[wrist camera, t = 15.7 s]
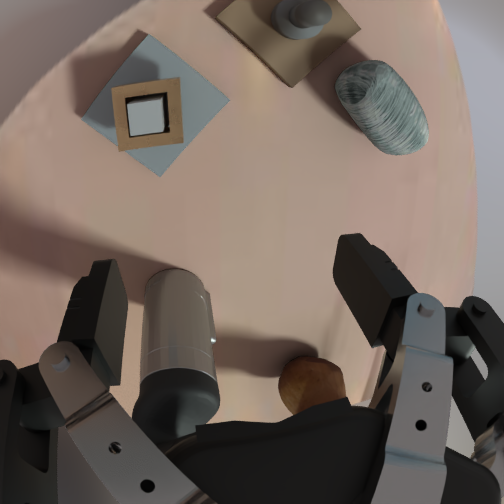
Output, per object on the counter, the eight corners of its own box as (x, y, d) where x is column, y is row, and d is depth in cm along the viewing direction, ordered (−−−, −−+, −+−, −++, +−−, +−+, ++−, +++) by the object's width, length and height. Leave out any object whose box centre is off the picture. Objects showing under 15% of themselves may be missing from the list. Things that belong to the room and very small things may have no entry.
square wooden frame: (180, 76, 27) (179, 78, 25) (183, 135, 31) (183, 143, 28) (117, 85, 26) (111, 87, 24) (124, 143, 30) (118, 151, 27)
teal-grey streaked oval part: (310, 93, 31) (393, 96, 24) (341, 46, 32) (414, 44, 25) (356, 164, 41) (421, 179, 34) (378, 117, 42) (439, 125, 35)
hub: (228, 98, 33) (240, 109, 26) (160, 172, 36) (155, 202, 30) (150, 35, 27) (139, 27, 20) (84, 116, 30) (59, 134, 23)
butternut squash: (266, 382, 67) (295, 482, 47) (279, 345, 60) (317, 461, 40) (322, 375, 71) (358, 465, 50) (341, 339, 63) (389, 440, 43)
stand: (355, 29, 30) (394, 27, 23) (288, 86, 33) (315, 95, 26) (289, -40, 24) (317, -61, 17) (214, 18, 27) (223, 5, 20)
